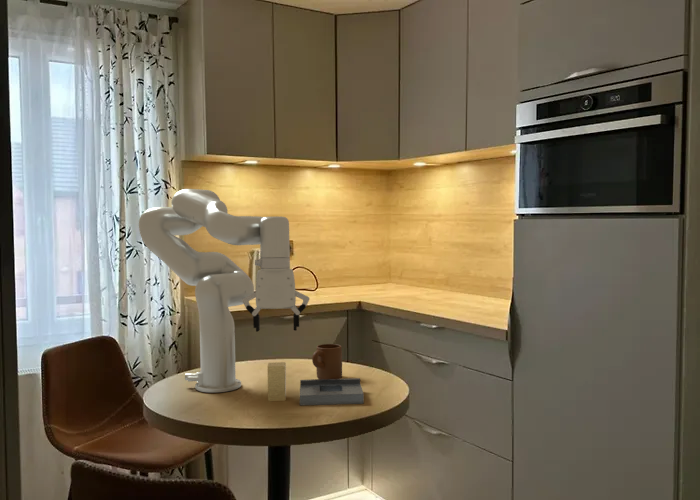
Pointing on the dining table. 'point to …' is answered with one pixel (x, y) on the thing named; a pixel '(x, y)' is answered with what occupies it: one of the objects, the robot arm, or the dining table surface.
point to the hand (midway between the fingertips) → (276, 330)
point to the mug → (328, 361)
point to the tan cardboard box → (277, 381)
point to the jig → (331, 391)
